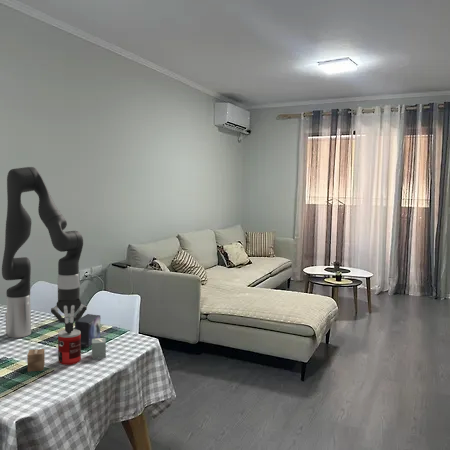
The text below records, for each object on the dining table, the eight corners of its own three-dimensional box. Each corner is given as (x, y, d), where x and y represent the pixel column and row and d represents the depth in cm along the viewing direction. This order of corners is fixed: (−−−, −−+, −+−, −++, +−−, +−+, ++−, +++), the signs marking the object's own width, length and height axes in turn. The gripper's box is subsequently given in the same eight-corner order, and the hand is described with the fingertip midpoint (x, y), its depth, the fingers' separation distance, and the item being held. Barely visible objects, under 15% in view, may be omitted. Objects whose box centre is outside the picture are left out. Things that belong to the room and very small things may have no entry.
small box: (88, 347, 179) (88, 322, 178) (74, 346, 180) (73, 321, 179) (101, 338, 189) (101, 314, 188) (87, 337, 191) (87, 313, 190)
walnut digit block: (27, 371, 156) (27, 354, 155) (29, 366, 161) (29, 349, 160) (43, 370, 157) (42, 353, 157) (44, 364, 162) (44, 348, 161)
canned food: (61, 357, 169) (61, 328, 168) (83, 357, 170) (82, 328, 169) (55, 365, 161) (55, 336, 160) (78, 365, 162) (78, 335, 161)
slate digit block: (92, 358, 168) (91, 343, 168) (92, 353, 173) (92, 338, 172) (105, 357, 170) (105, 341, 169) (105, 352, 174) (105, 337, 174)
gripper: (49, 289, 157) (49, 337, 158) (88, 287, 162) (88, 333, 163) (49, 284, 164) (49, 331, 165) (86, 282, 169) (87, 327, 170)
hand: (69, 332), depth 164 cm, fingers closed
